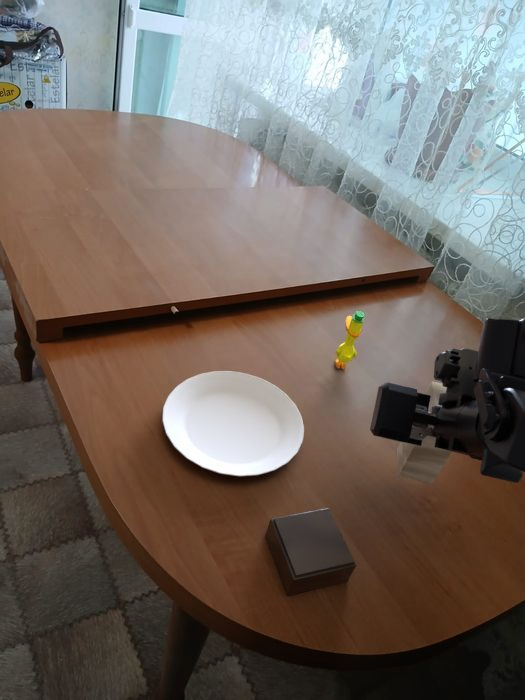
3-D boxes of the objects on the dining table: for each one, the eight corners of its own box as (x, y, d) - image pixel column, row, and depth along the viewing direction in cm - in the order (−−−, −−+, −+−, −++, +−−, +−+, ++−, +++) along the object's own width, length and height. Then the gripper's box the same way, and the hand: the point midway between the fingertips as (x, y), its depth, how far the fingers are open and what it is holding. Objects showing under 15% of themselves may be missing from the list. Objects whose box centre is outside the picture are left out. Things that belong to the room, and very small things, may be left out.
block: (432, 484, 71) (473, 415, 63) (398, 476, 71) (435, 405, 63) (428, 458, 75) (467, 389, 67) (396, 450, 75) (431, 380, 67)
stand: (348, 581, 65) (357, 563, 63) (287, 596, 62) (294, 578, 60) (321, 524, 71) (329, 505, 68) (264, 535, 68) (270, 516, 65)
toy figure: (328, 351, 101) (346, 297, 93) (347, 354, 101) (366, 300, 94) (332, 375, 95) (352, 320, 88) (352, 378, 96) (373, 323, 88)
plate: (232, 513, 69) (235, 503, 68) (131, 418, 79) (132, 407, 77) (327, 438, 83) (331, 428, 82) (232, 364, 92) (234, 354, 91)
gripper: (585, 371, 56) (511, 382, 71) (409, 329, 56) (373, 349, 71) (569, 479, 54) (497, 466, 70) (387, 436, 54) (355, 433, 70)
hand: (431, 426), depth 70 cm, fingers closed on block, 4 cm apart
